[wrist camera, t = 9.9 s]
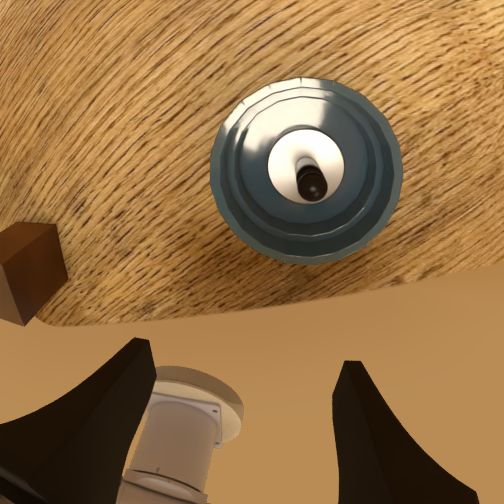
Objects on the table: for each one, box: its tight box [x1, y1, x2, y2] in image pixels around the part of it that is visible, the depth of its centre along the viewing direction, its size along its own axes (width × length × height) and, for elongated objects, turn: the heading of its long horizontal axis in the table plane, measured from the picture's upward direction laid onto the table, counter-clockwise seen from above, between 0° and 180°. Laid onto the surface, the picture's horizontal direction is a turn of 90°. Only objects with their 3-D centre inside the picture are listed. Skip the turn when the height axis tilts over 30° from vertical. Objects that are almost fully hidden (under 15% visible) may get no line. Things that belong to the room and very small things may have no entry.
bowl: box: [210, 77, 403, 265], centre depth 16 cm, size 9×9×4 cm
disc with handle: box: [267, 126, 345, 204], centre depth 14 cm, size 4×4×6 cm
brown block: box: [0, 222, 68, 327], centre depth 19 cm, size 5×5×6 cm
